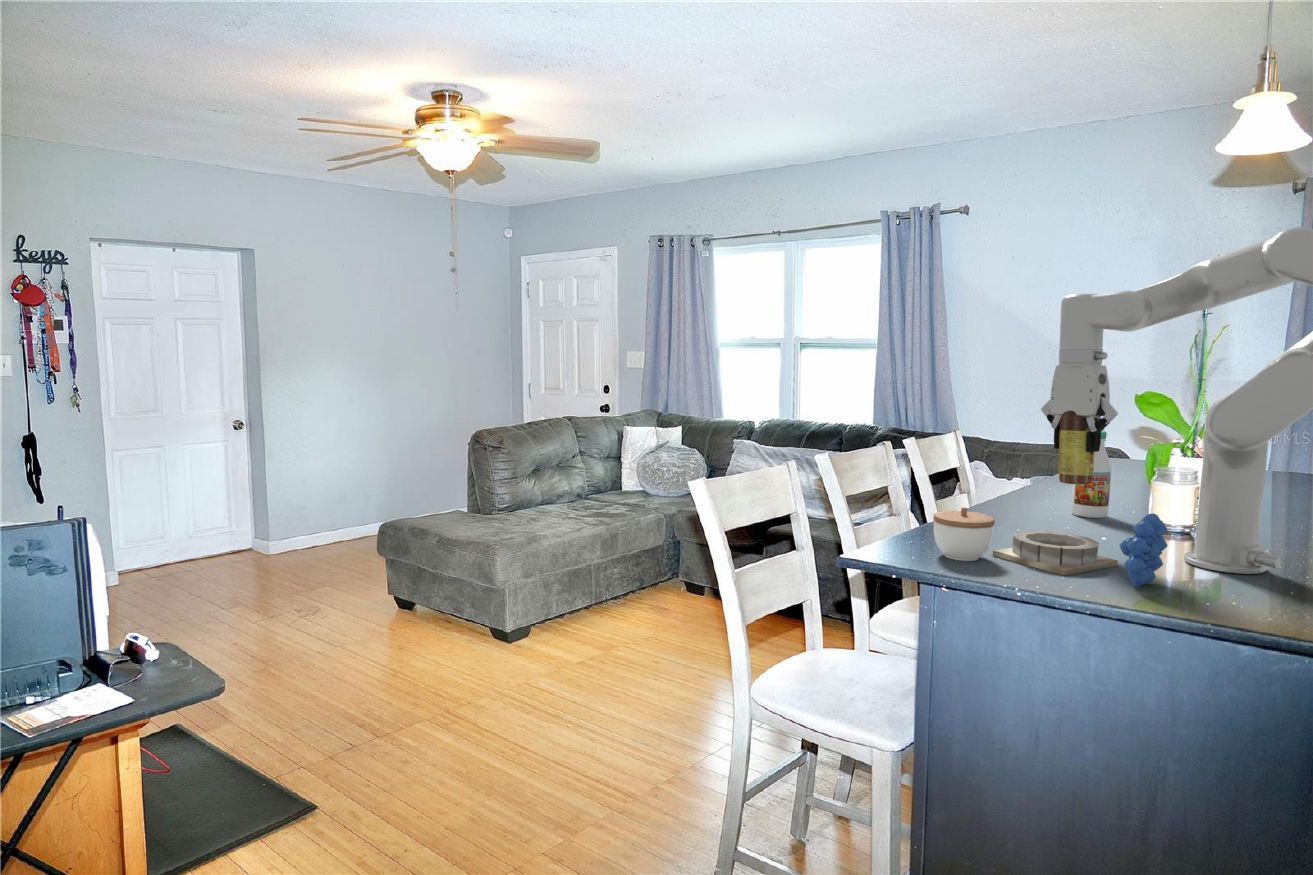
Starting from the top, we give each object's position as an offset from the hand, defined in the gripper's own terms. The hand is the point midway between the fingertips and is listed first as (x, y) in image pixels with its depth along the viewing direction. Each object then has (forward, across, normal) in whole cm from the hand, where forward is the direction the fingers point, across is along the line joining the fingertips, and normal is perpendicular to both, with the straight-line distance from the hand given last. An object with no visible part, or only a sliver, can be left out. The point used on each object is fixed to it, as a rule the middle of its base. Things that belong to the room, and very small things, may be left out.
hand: (1076, 449), depth 167 cm
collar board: (+19, -6, +14) cm, 24 cm away
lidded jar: (+19, +4, +27) cm, 34 cm away
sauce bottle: (+7, 0, 0) cm, 7 cm away
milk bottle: (+20, +18, -31) cm, 41 cm away
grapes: (+20, -22, +14) cm, 33 cm away
